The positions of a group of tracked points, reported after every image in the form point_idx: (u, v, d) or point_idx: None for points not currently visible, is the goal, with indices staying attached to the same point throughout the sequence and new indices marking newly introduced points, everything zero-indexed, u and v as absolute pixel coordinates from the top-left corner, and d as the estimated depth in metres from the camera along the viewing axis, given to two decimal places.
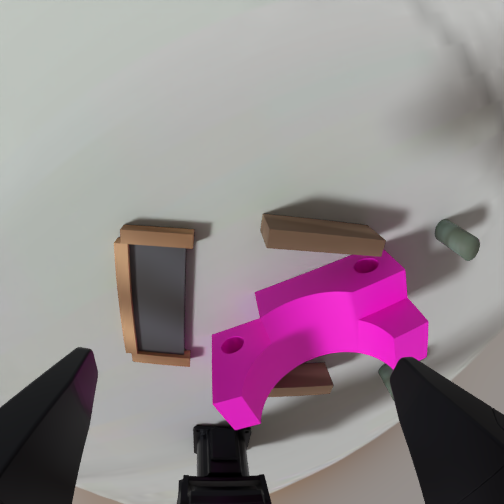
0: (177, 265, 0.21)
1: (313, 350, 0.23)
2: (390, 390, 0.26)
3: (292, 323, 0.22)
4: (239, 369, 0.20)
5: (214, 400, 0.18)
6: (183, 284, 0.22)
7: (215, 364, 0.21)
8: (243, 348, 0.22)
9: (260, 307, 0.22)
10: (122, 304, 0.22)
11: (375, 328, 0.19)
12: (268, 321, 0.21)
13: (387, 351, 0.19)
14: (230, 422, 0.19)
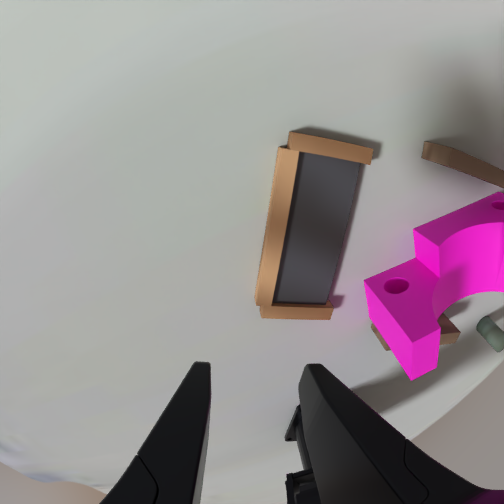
0: (347, 185, 0.18)
1: (459, 291, 0.20)
2: (493, 341, 0.23)
3: (454, 257, 0.18)
4: (421, 305, 0.17)
5: (412, 338, 0.15)
6: (349, 209, 0.18)
7: (388, 305, 0.18)
8: (412, 286, 0.19)
9: (430, 239, 0.18)
10: (272, 233, 0.18)
11: None
12: (442, 252, 0.18)
13: None
14: (413, 369, 0.16)
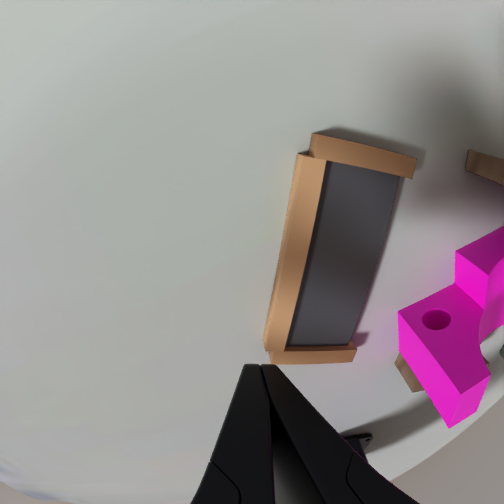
0: (384, 204, 0.14)
1: (498, 319, 0.16)
2: None
3: (498, 284, 0.14)
4: (467, 344, 0.13)
5: (460, 389, 0.11)
6: (384, 235, 0.14)
7: (430, 345, 0.14)
8: (455, 320, 0.15)
9: (478, 265, 0.14)
10: (288, 268, 0.14)
11: None
12: (490, 280, 0.13)
13: None
14: (454, 418, 0.12)
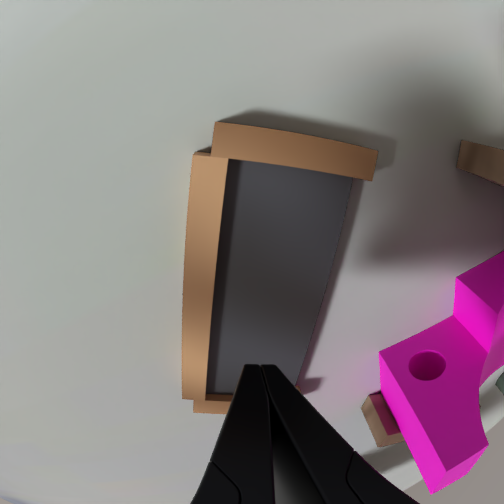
0: (329, 218, 0.10)
1: (503, 357, 0.12)
2: None
3: None
4: (463, 402, 0.09)
5: (446, 464, 0.07)
6: (331, 261, 0.11)
7: (415, 402, 0.10)
8: (450, 367, 0.11)
9: (484, 298, 0.10)
10: (190, 307, 0.10)
11: None
12: (499, 319, 0.10)
13: None
14: (438, 487, 0.08)
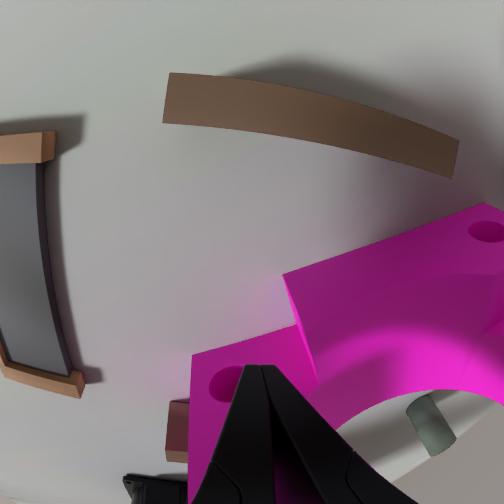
0: (25, 203, 0.09)
1: (383, 390, 0.11)
2: (427, 441, 0.14)
3: (364, 342, 0.10)
4: None
5: None
6: (38, 243, 0.09)
7: (195, 423, 0.09)
8: None
9: (301, 307, 0.09)
10: None
11: None
12: (321, 339, 0.09)
13: None
14: None
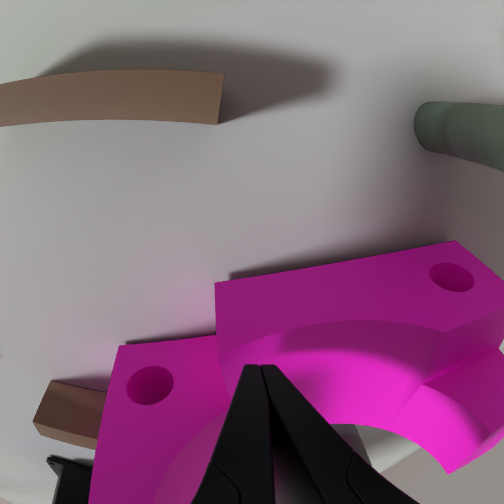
0: None
1: None
2: None
3: (286, 372, 0.09)
4: (152, 451, 0.08)
5: None
6: None
7: (108, 419, 0.09)
8: (171, 400, 0.09)
9: (222, 326, 0.09)
10: None
11: (450, 405, 0.08)
12: (236, 365, 0.08)
13: (451, 443, 0.08)
14: None
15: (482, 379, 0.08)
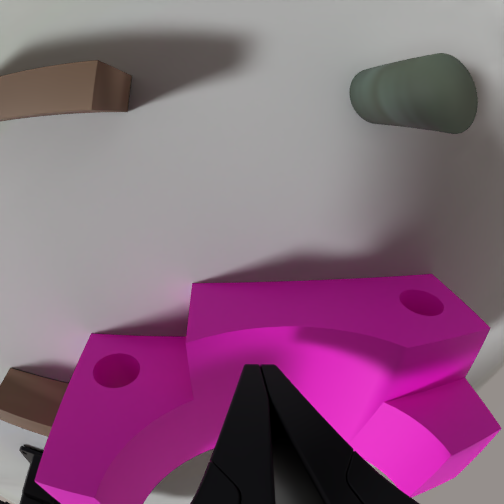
0: None
1: None
2: None
3: None
4: (109, 431, 0.07)
5: (39, 475, 0.05)
6: None
7: (70, 396, 0.08)
8: (134, 386, 0.09)
9: (194, 318, 0.09)
10: None
11: (411, 425, 0.08)
12: (202, 355, 0.09)
13: (411, 466, 0.08)
14: None
15: (445, 404, 0.08)
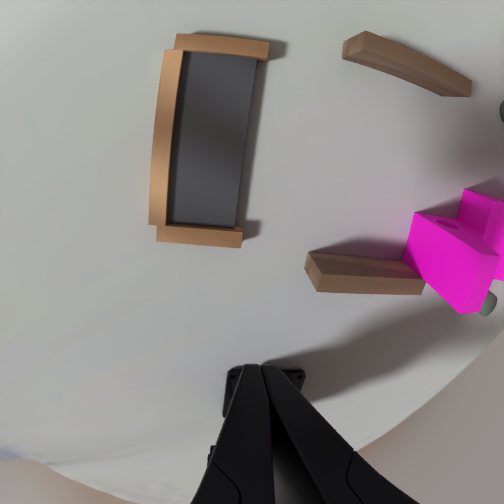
0: (243, 82, 0.15)
1: None
2: None
3: (494, 226, 0.18)
4: (476, 240, 0.16)
5: (480, 252, 0.13)
6: (248, 109, 0.15)
7: (447, 230, 0.16)
8: (462, 229, 0.17)
9: (483, 197, 0.17)
10: (158, 137, 0.15)
11: None
12: (491, 210, 0.17)
13: None
14: (468, 296, 0.14)
15: None
